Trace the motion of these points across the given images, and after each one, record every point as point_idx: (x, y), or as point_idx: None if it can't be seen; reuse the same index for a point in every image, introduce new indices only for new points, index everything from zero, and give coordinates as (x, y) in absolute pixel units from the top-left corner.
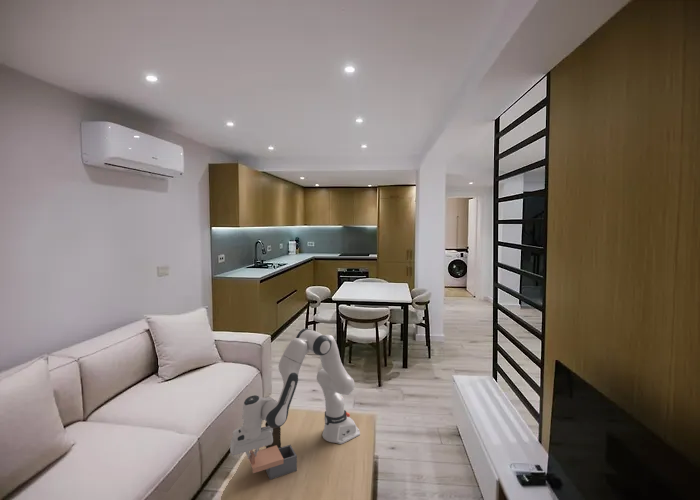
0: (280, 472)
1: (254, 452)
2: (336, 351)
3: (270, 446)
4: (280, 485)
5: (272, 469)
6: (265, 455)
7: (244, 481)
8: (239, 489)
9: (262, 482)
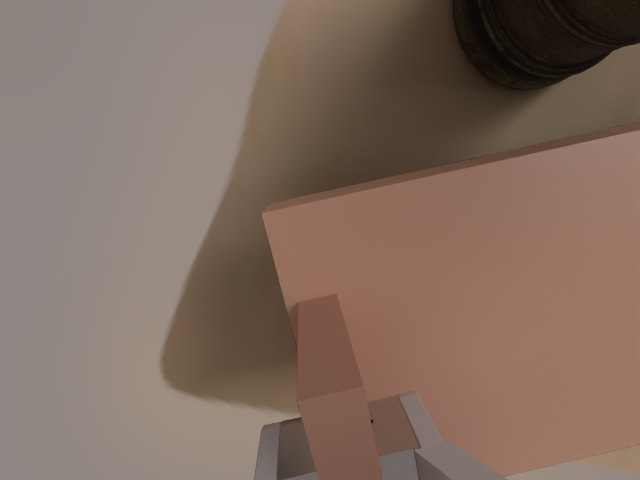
0: None
1: (408, 470)
2: None
3: (613, 3)
4: None
5: None
6: (531, 319)
7: (260, 299)
8: (230, 364)
9: None
